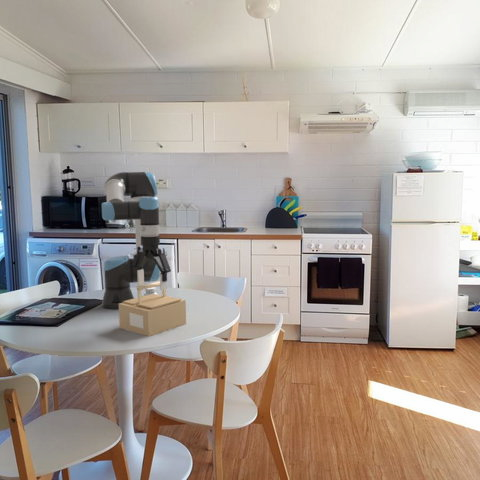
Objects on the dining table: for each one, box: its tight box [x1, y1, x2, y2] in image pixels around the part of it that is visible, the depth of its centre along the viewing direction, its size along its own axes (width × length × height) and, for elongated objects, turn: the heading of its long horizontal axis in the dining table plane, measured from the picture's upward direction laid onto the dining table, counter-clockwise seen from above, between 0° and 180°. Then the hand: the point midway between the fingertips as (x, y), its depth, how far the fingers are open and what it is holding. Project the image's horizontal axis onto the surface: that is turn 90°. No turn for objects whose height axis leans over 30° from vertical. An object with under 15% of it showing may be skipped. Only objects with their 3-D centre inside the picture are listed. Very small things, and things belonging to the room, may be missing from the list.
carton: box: [118, 293, 187, 337], centre depth 189 cm, size 18×20×11 cm
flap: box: [136, 280, 183, 309], centre depth 185 cm, size 10×16×8 cm, turn 142°
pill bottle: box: [143, 287, 158, 296], centre depth 207 cm, size 6×6×12 cm
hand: (152, 287), depth 187 cm, fingers open, 13 cm apart
